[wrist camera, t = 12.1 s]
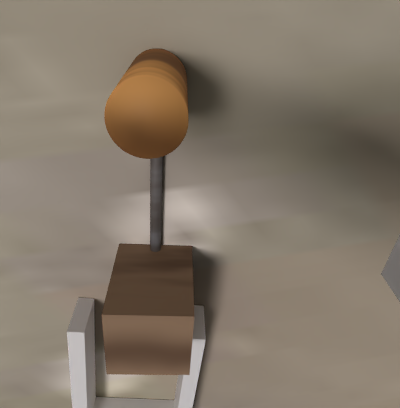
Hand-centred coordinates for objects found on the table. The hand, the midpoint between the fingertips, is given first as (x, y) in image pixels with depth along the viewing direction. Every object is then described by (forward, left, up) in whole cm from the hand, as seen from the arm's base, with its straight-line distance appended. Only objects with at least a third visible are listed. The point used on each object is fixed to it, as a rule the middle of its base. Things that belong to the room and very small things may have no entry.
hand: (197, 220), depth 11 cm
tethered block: (+10, -2, -20) cm, 22 cm away
